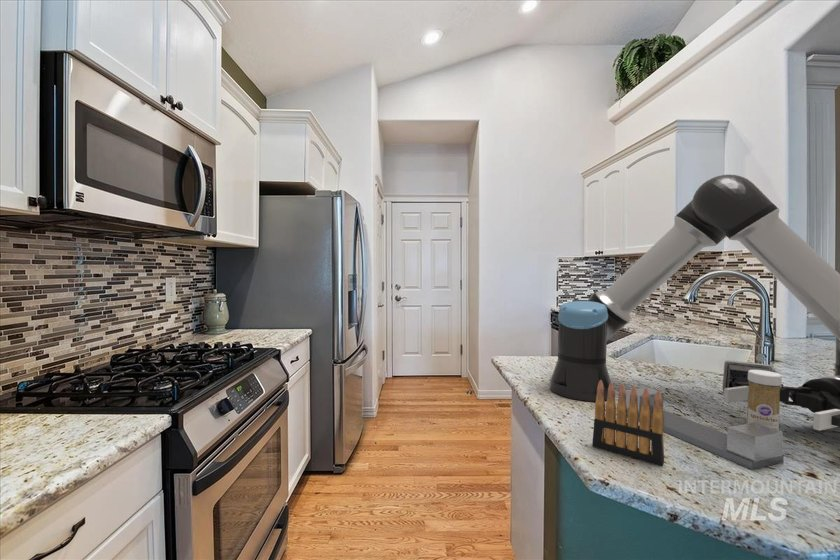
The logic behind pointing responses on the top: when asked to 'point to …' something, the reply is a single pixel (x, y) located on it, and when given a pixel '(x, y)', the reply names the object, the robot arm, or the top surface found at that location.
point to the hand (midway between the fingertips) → (766, 407)
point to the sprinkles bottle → (764, 398)
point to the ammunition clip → (629, 425)
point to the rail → (723, 437)
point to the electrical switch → (740, 371)
